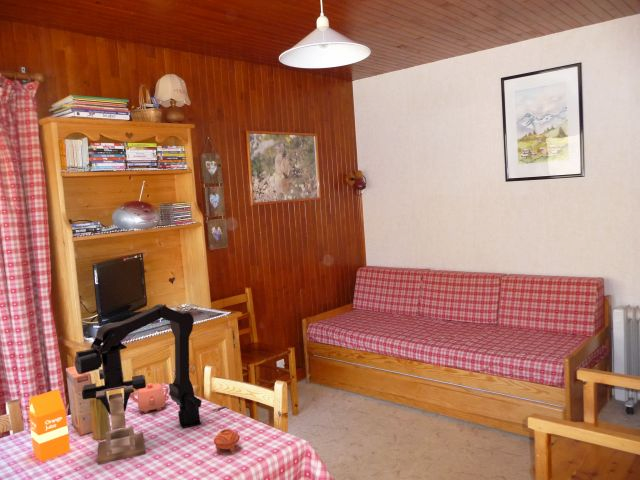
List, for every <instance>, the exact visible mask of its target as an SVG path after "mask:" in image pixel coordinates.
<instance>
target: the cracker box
mask: <svg viewBox="0 0 640 480" xmlns="http://www.w3.org/2000/svg"><path fill="white" fill-rule="evenodd" d="M65 372H66V374H65V375H66V381H67V390H68V399H69V407H70V416H71V417H70V418H71V424H72V426H73V427H74V428H75V430H76V431H77V433H78V435H79V436H84V435H87V434H90V433H91V434H92V433H93V432H92V419H91V409H90V400H89V399H83V397H82V388H83V386H84V385H89V384H93V383H92V374H91V373H90V372H87V373H83V374H78V373H77V371H76V368H75V365H74V366H70V367H66V368H65Z"/></svg>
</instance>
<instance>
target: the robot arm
mask: <svg viewBox="0 0 640 480" xmlns="http://www.w3.org/2000/svg"><path fill="white" fill-rule="evenodd" d="M161 319H164V320H166V321H169V324H170V329H171V332H172V334H173V337H174V380H173V382H172V383H169V384H168V389H169V391H168V396H170V398H171V400H172V401H173V402H175V403H176V405H177V406H179V410H177V413H178V423H179V425H180V426H181V428H182V429H185V428H189V427H193V426H198V425H202V422H201V418H200V417H201V416H200V409H199V408H201V407H202V400H201V399H200V398H198V397H197V396H195V391H194V386H193V384H192V382H191V379H190V336H191V334H192V332H193V330H194V323H195V320H194V319H195V318H194V316H193V315H192V314H191V313H189V312H186V311H183V310H174V309H172V308H169V307H168V306H166V305H163V304H156V305H155V306H154V307H151V308H149V309H147V310H144V311H142V312H140V313H138V314H136V315H134V316H131V317H129V318H127V319H125V320H122V321H117V322H111V323H107V324H103V325H101V326H99V328H98V329H97V331H96V336H95V339H93V341H92V344H91V345H90V348H89V349H85V350H78V351H76V353H75V358H74V366H75V368H76V371H77V373H78V374H83V373H87V372H89V373H90V372H93V371H97V370H98V374H99V380H103V382H104V385H98V386H97V384H96V383H92V384H89V385H84V386H83V388H82V397H83V399H90V398H94V397H95V395H96V399H97V400H98V399H100V401H101V402H102V403H103V404H104V406H105V407H106V409H107V411H108V414H109V415H111V414H110V405H109V396H108V393H107V392H108V391H113V390H114V391H115V390H118V389H119V390H121V389H123V404H124V413H125V412H126V410H127V405H128V401H129V399H130V398H131V397H130V394H131V393H133V392H134V391H135V390H136V391H138V389H142V388H146V385H147V383H146V377H145V375H144V374H139V375H134V376H131V379H130V380H126V381H124V380H125V379H124V370H123V365H122V355H121V350H125V349H127V347H128V346H127V345H125V344H124V343H122V341H124V340H125V339H126V338H127V337H128V336H129V335H130V334H131V333H133V332H136V331H138V330H139V329H141V328H144V327H146V326H148V325H150V324H152V323H155V322H156V321H158V320H161ZM101 367H102V369H100V368H101Z"/></svg>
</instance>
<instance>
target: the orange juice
mask: <svg viewBox="0 0 640 480" xmlns="http://www.w3.org/2000/svg"><path fill="white" fill-rule="evenodd" d="M27 413H28V418H29V419H28V420H29V427H30V434H31V440H32V448H33V456H35V457H36V458H37V459H38V460H39V461H40V462H46V461H48V460H50V459H53V458H56V457H58V456H61V455H64V454H66V453H69V452H71V445H70V438H69V428H68V422H67V415H66V414H67V412H66V407H65V404H64V401H63V399H62V395H61V392H60V389H59V388H57V389H54V390H51V391H46V392H44V393H41V394H37V395H34V396H31V397H29V405H28V412H27Z"/></svg>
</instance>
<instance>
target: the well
mask: <svg viewBox="0 0 640 480" xmlns="http://www.w3.org/2000/svg"><path fill="white" fill-rule="evenodd" d="M141 455H146V445H145V438H144V433H143V432H140V433H139V432H138V433H136V434H135V428H134V426H129V427H126V428H121V429H116V430H111V431H109V432H106V438H105V440H102V441H98V442H97V457H96V458H97V465H102V464H105V463H111V462H115V461H120V460H125V459H128V458H133V457H137V456H141Z"/></svg>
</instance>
